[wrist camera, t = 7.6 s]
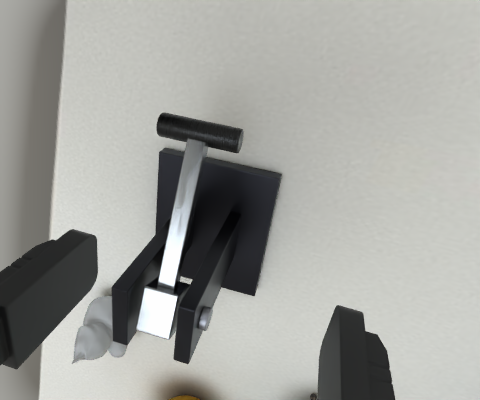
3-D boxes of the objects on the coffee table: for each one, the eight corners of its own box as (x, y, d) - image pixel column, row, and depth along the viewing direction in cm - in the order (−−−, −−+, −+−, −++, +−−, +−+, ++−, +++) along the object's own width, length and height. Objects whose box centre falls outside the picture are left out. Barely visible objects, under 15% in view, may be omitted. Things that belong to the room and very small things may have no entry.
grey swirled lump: (126, 282, 38) (80, 340, 31) (155, 329, 40) (118, 394, 33) (87, 291, 40) (35, 348, 33) (117, 335, 42) (74, 398, 35)
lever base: (164, 147, 30) (66, 219, 19) (282, 173, 29) (250, 267, 18) (158, 261, 36) (79, 370, 25) (256, 288, 34) (220, 415, 23)
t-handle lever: (170, 115, 23) (155, 108, 21) (246, 131, 22) (240, 126, 20) (131, 309, 24) (113, 323, 22) (201, 330, 24) (191, 347, 21)
